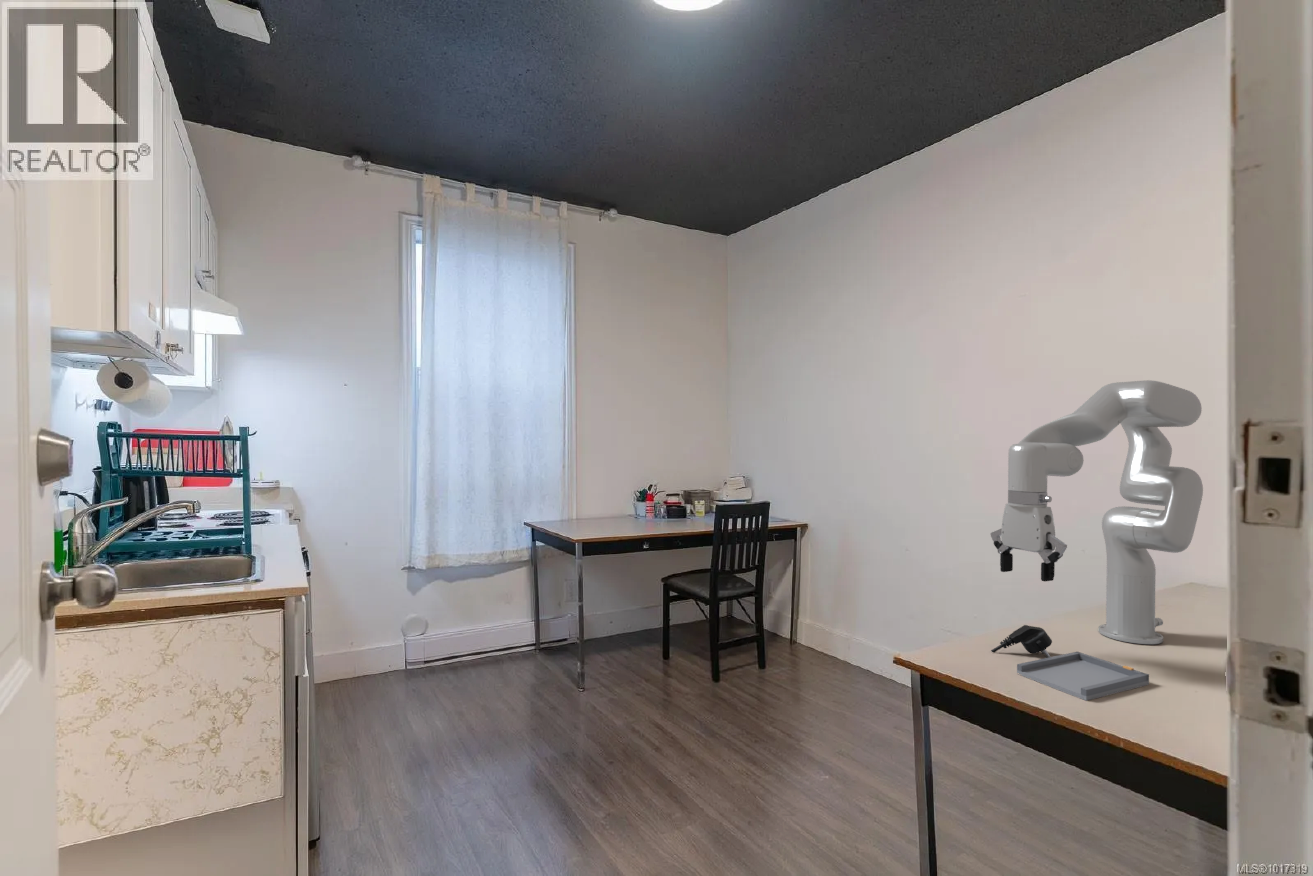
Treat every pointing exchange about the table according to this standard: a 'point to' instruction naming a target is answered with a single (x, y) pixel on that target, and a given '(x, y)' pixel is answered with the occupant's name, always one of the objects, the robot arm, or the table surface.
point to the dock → (1083, 675)
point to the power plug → (1028, 640)
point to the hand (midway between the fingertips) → (1026, 575)
